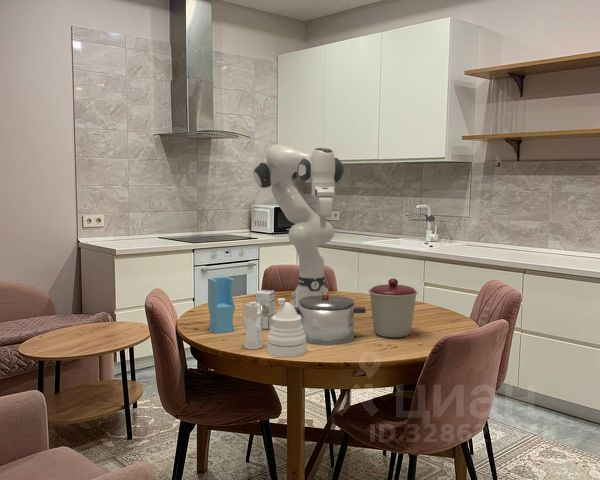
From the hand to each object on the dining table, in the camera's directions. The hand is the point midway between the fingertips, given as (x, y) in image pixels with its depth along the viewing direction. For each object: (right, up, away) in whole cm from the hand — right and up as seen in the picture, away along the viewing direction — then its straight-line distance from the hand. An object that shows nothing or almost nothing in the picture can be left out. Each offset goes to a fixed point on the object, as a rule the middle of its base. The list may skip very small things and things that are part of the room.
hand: (323, 227), depth 224 cm
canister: (+26, -40, -4) cm, 48 cm away
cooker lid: (+1, -28, -9) cm, 29 cm away
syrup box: (-22, -39, +6) cm, 45 cm away
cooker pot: (+1, -40, -8) cm, 41 cm away
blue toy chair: (-39, -39, +2) cm, 55 cm away
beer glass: (-25, -42, -21) cm, 53 cm away
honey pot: (-13, -42, -26) cm, 51 cm away
